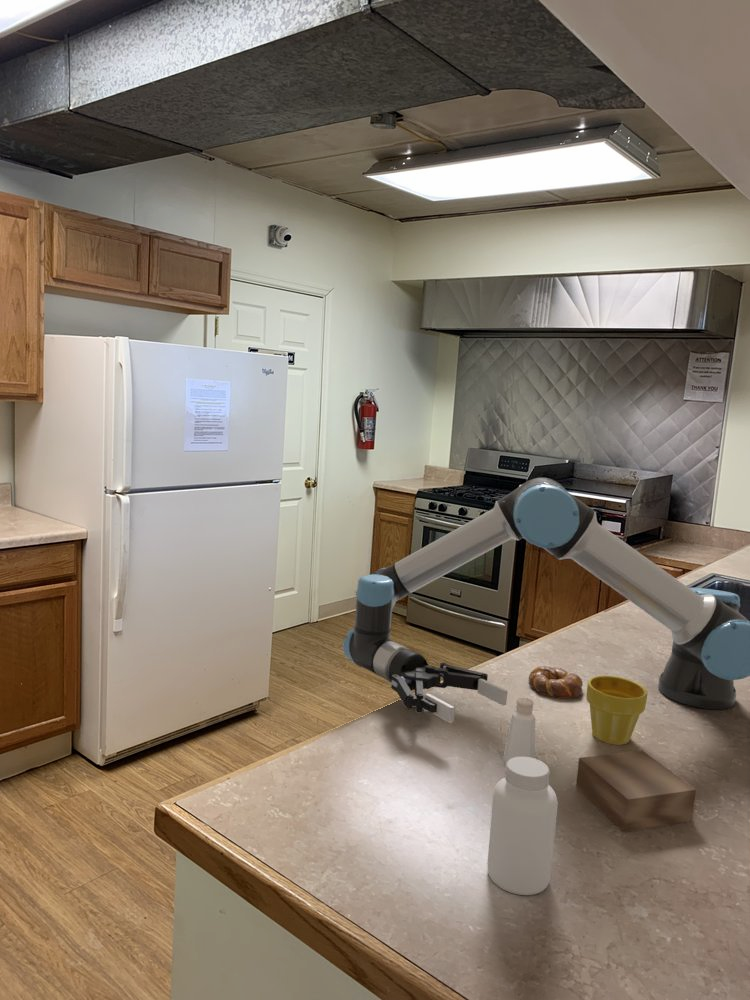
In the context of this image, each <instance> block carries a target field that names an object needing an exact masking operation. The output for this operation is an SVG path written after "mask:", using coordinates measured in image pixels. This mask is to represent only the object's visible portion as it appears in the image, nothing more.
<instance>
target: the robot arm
mask: <svg viewBox="0 0 750 1000" xmlns="http://www.w3.org/2000/svg"><path fill="white" fill-rule="evenodd" d="M522 539H524V540H525V541H527V542H528V543H529V544H530V545H534V546H535V547H538V548H542V549H544V550H545V551H546V552H548V553H549V554H550V555H552V556H554V557H555V558H556V559H557V560H565V559H571V560H573V561H574V562H575V563H577V564H578V565H579V566H581V567H582V568H583V569H585V570H586V571H588V572H589V573H591V574H592V575H594V576H595V577H596V578H597V579H598V580H601V581H602V582H603V583H604V584H606V585H607V586H609V587H610V588H611V589H613V590H615V591H616V592H617V593H618V594H619V595H621V596H622V597H624V598H625V599H626V600H628V601H630V602H631V603H632V604H633V605H635V606H636V607H638V608H639V609H641V610H643V612H644V613H646V614H648V615H649V616H651V618H653V619H654V620H656V621H657V622H659V623H660V624H662V625H663V626H664V627H666V628H667V629H668V630H670V631H671V636H672V644H671V645H672V646H671V647H672V648H671V653H670V656H669V658H668V660H667V662H666V664H665V667H664V668H663V669H664V670H663V672H661V673H660V675H659V678H658V679H659V680H658V687H657V688H658V690H659V691H660V693H661V694H662V695H663V696H665V697H667V698H669V699H671V700H672V701H675V702H677V703H680V704H683V705H687V706H690V707H694V708H699V709H706V710H726V709H730V708H732V707H734V706H735V704H736V699H737V690H736V688H735V685H734V684H735V683H734V681H736V680H742V679H746V678H748V677H750V620H748V618H746V617H745V616H744V615H743V614H741V613H740V612H739V610H740V608H741V603H740V602H741V598H740V596H739V595H738V594H737V593H734V592H730V591H725V590H719V589H718V590H717V589H712V588H704V587H703V588H702V587H688V586H687V585H685V584H684V583H683V582H681V581H680V580H678V578H676V577H675V576H673V575H672V574H670V573H669V572H667V571H666V570H664V569H663V568H661V567H660V566H659V565H657V564H656V563H655V562H654V561H652V560H650V559H649V558H648V557H646V556H644V554H642V553H641V552H639V551H638V550H636V549H635V548H634V547H632V546H631V545H629V544H628V543H626V542H625V540H624V541H623V540H622V539H621V538H619V537H618V536H617V535H615V534H614V533H612V532H611V531H609V530H608V529H607V528H605V527H604V526H603V525H601V524H600V523H599V522H598V518H597V513H596V511H595V510H593V509H592V508H591V507H590V506H588V505H587V504H586V503H584V502H583V501H581V500H580V499H579V498H577V497H576V496H574V495H573V494H572V493H570V492H568V490H566V488H565V487H564V486H563V485H562V484H561V483H560V482H558V481H556V480H554V479H552V478H548V477H537V478H535V477H534V478H533V479H530V480H527V481H526V482H524V483H522V484H521V485H520V486H518V487H517V488H515V489H514V490H513V491H511V492H510V493H508V494H506V495H505V496H502V497H501V498H499V499H497V500H495V503H494V506H493V507H492V509H489V510H488V511H486V512H484V513H483V514H480V515H478V517H475V518H474V519H472V520H470V521H468V522H467V523H465V524H463V525H461V526H459V527H458V528H456V529H454V530H452V531H450V532H448V533H447V534H445V535H443V536H441V537H440V538H437V539H436V540H434V541H432V542H431V543H429V544H427V545H425V546H424V547H422V548H420V549H419V550H416V551H414V552H413V553H410V554H409V555H407V556H405V557H403V558H402V559H400V560H398V561H397V562H395V563H393V564H392V565H389V566H388V567H382V568H380V569H378V570H377V571H375V572H374V573H371V574H365V575H362V576H360V577H359V579H358V581H357V588H356V591H355V596H356V598H355V599H356V602H355V603H356V604H355V620H354V622H355V623H354V627H353V628H351V629H350V630H349V631H348V632H347V633H346V635H345V638H344V640H343V643H342V650H343V653H344V655H345V657H346V658H347V659H348V660H350V661H351V662H352V663H354V664H355V665H356V666H358V667H360V668H364V669H366V670H368V671H370V672H371V673H373V674H375V675H377V676H378V677H380V678H382V679H384V680H386V681H388V682H389V683H390V684H391V689H392V690H393V691H395V692H396V694H397V695H398V696H399V699H400V700H401V701H402V703H403V706H404V707H405V709H407V710H413V708H414V707H415V712H416V713H423V710H425V711H427V712H429V713H432V714H433V715H435V716H437V717H438V718H441V720H444V721H445V722H447V723H449V724H451V723H453V722H454V715H455V706H453V705H451V704H449V703H447V702H445V701H444V700H442V699H440V698H438V697H436V696H434V695H433V694H430V693H426V694H425V693H424V690H429V689H433V688H439V689H446V688H447V687H451V688H459V689H466V690H474V691H477V694H479V695H481V696H483V697H484V698H487V699H489V700H491V701H493V702H495V703H498V704H500V705H501V706H506V705H507V701H508V690H507V689H505V688H503V687H501V686H498V685H496V684H494V683H492V682H490V681H488V678H489V677H488V673H485V672H480V671H477V670H473V669H471V670H470V669H467V668H464V667H459V666H456V665H455V666H453V665H451V664H448V663H446V662H440V664H439V667H435V666H434V665H429V663H428V661H427V660H426V658H425V657H424V655H422V654H421V653H419V652H416V651H415V650H412V649H411V648H408V647H407V646H404V645H403V644H400V643H397V642H395V641H393V640H391V638H390V637H391V628H392V627H391V625H392V617H393V616H392V615H393V608H394V607H395V605H396V602H398V601H400V600H402V599H403V598H405V597H407V596H408V595H410V594H412V593H414V592H415V591H418V590H419V589H421V588H423V587H425V586H427V585H428V584H431V583H433V582H434V581H435V580H438V579H439V578H441V577H443V576H445V575H447V574H449V573H451V572H452V571H454V570H456V569H459V568H460V567H462V566H463V565H465V564H467V563H470V562H471V561H473V560H475V559H476V558H479V557H480V556H482V555H484V554H486V553H488V552H490V551H492V550H494V549H495V548H497V547H499V546H501V545H502V544H504V543H506V542H509V541H510V540H515V541H520V540H522ZM441 678H442V682H441ZM413 691H414V694H413Z"/></svg>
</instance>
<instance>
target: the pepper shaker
mask: <svg viewBox="0 0 750 1000" xmlns="http://www.w3.org/2000/svg"><path fill="white" fill-rule="evenodd" d="M533 709H534V701H533V700H532V698H531V699H530V698H528V697H519V698H517V699H516V706H515V711H514V712H512V714H511V718H510V722H509V727H508V732H507V738H506V741H505V747H504V753H503V757H502V758H503V762H504V763H505V765H506V763H507V762H508V760H510V759H511V758H514V757H531V758H534V759H537V758H536V757H537V756H536V753H537V752H536V748H537V747H536V716H535V715H534V713H533Z"/></svg>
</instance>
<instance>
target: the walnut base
mask: <svg viewBox="0 0 750 1000" xmlns="http://www.w3.org/2000/svg"><path fill="white" fill-rule="evenodd" d="M575 788H576V789H577V790H578V791H579V792H580V793H581V794H582V795H583V796H584V797H586V799H587V800H589V801H590V803H592V804H593V805H594V806H595V807H596V808H597V809H598V810H600V811H601V813H603V814H604V815H605V816H606V817H607V818H609V820H610V821H612V822H613V823H614V824H615V825H616V826H617V827H618V828H619V829H620V830H621V831H623V832H624V833H625V832H626V833H627V832H632V831H638V830H646V829H651V828H657V827H662V826H671V825H674V824H675V825H676V824H680V823H681V824H682V823H683V824H684V823H688V822H693V815H694V809H695V808H694V807H695V800H696V795H697V789H696V788H695V787H694V786H693V785H690V784H689V783H688V782H686V781H685V780H684V779H682V778H681V777H679V775H677V774H676V773H674V772H672V771H671V770H670V769H669V768H667V767H666V766H664V765H663V764H662V763H661V762H659V761H658V760H656V759H655V758H653V757H652V756H651V755H649V754H648V753H647V752H646V751H644V750H634V751H625V752H619V753H618V752H617V753H611V754H600V755H593V756H591V755H590V756H583V757H579V758H578V764H577V773H576V782H575Z"/></svg>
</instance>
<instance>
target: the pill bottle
mask: <svg viewBox="0 0 750 1000" xmlns="http://www.w3.org/2000/svg"><path fill="white" fill-rule="evenodd" d="M504 774H505V777H503V778H501V779H500V780H499V781H498V782H497V783H496V784H495V787H494V789H493V793H492V805H491V815H490V817H491V818H490V826H489V827H490V829H489V841H488V852H487V853H488V854H487V872H488V876H489V878H490V879H491V881H492V882H493V883H494V884H495V885H496V886H497V887H499V888H500V889H502V890H504V891H506V892H509V893H511V894H514V895H520V896H532V895H537V894H540V893H542V892H543V891H544V890H546V888H547V887H548V886H549V884H550V881H551V876H552V866H553V864H552V863H553V857H554V844H555V835H556V825H557V815H558V814H557V813H558V805H559V803H558V798H557V797H558V796H557V795H556V792H555V791H554V788H552V786H551V785H550V784H549V780H550V768H549V767H548V765H547V764H546V763H545V762H543V761H542V760H539V759H538V758H536V759H534V758H531V757H514V758H511V759H510V760H508V762H507V763H506V764H505V773H504Z"/></svg>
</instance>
